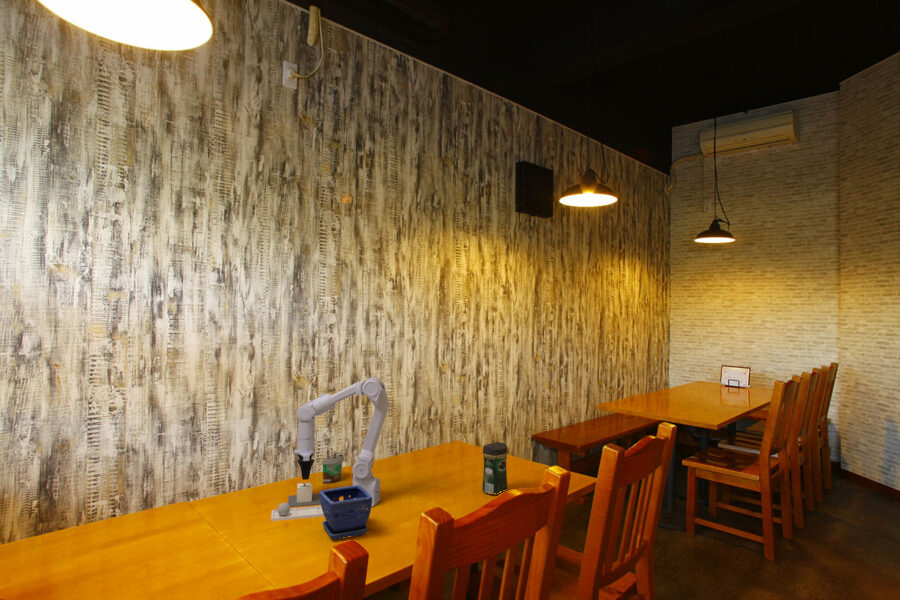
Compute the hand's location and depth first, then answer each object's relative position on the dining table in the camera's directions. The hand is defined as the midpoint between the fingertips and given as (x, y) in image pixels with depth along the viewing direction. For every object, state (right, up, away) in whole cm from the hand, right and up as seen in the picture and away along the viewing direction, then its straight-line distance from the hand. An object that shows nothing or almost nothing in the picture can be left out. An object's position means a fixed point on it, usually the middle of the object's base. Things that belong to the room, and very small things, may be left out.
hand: (305, 476), depth 185 cm
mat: (0, -9, 0) cm, 9 cm away
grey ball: (-3, -8, -15) cm, 17 cm away
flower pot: (+19, -9, -26) cm, 34 cm away
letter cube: (0, -8, 0) cm, 8 cm away
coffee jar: (+69, -11, +13) cm, 71 cm away
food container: (+5, -10, +24) cm, 27 cm away
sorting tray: (+4, -8, -13) cm, 16 cm away
